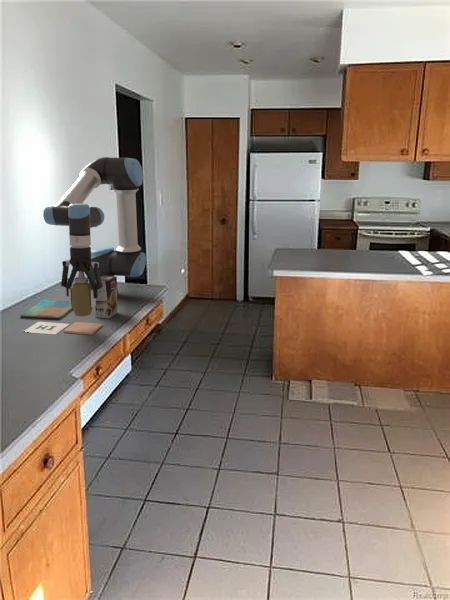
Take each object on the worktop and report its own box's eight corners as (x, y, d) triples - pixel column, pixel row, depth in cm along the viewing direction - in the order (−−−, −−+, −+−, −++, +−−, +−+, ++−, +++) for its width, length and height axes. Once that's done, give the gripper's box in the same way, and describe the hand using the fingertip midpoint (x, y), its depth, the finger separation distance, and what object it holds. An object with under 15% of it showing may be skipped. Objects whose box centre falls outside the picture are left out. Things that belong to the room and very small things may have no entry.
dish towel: (79, 306, 227) (78, 300, 226) (60, 321, 204) (60, 315, 204) (41, 304, 228) (41, 298, 227) (18, 319, 205) (18, 313, 204)
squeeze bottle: (92, 317, 190) (91, 270, 185) (70, 317, 188) (68, 270, 184) (94, 311, 198) (93, 266, 193) (73, 311, 196) (71, 266, 192)
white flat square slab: (38, 321, 201) (38, 321, 201) (69, 324, 200) (69, 323, 200) (22, 332, 189) (22, 331, 189) (55, 334, 187) (55, 334, 187)
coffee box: (109, 318, 209) (108, 280, 204) (94, 317, 210) (93, 279, 206) (118, 312, 217) (117, 276, 213) (104, 311, 218) (103, 275, 214)
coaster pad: (75, 323, 200) (75, 321, 200) (102, 325, 199) (102, 323, 199) (63, 332, 190) (63, 330, 190) (91, 334, 189) (91, 332, 188)
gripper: (48, 246, 184) (52, 306, 190) (103, 249, 182) (105, 310, 187) (57, 243, 191) (60, 301, 197) (111, 246, 189) (112, 304, 195)
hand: (82, 305), depth 192 cm, fingers closed on squeeze bottle, 8 cm apart
